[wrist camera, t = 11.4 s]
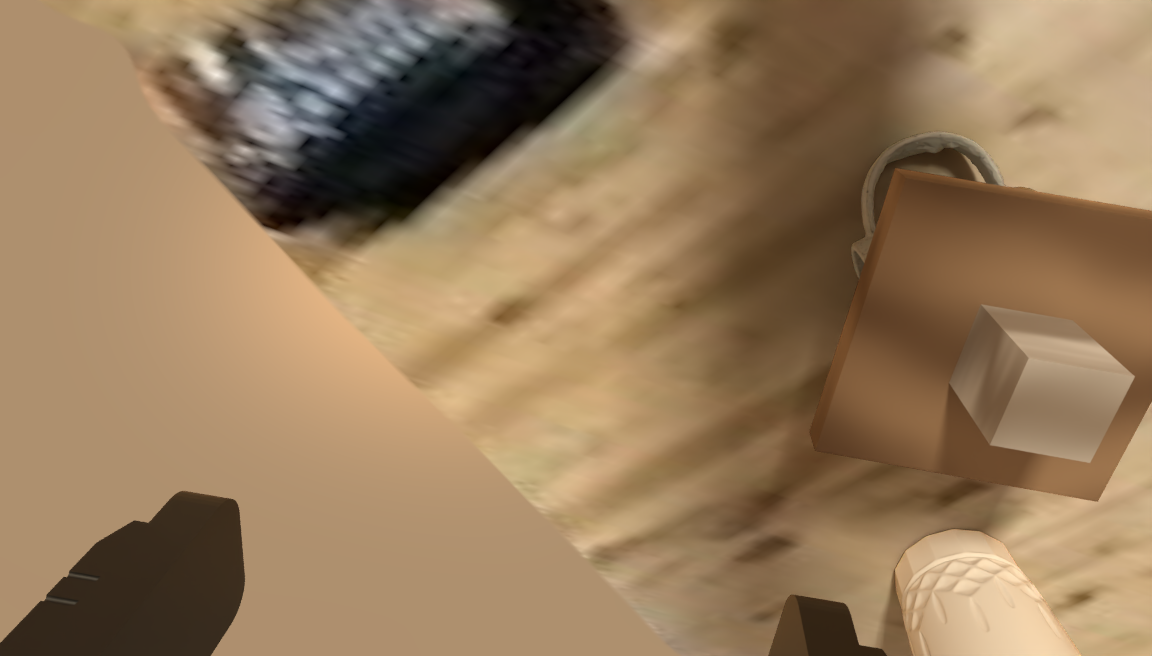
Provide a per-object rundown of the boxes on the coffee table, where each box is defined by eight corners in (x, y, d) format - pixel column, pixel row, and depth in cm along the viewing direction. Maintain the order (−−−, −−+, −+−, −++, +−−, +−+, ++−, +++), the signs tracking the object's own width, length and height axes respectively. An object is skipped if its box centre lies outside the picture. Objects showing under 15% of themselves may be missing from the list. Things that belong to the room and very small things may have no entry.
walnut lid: (895, 167, 30) (945, 214, 25) (1215, 221, 30) (1337, 281, 24) (809, 431, 35) (834, 518, 30) (1080, 480, 35) (1156, 576, 29)
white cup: (1023, 618, 48) (1105, 771, 39) (886, 627, 49) (935, 777, 40) (1025, 512, 45) (1116, 652, 36) (879, 526, 46) (931, 664, 37)
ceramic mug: (1050, 291, 39) (1132, 360, 32) (886, 353, 41) (929, 430, 34) (986, 92, 36) (1062, 122, 29) (812, 172, 38) (843, 216, 31)
